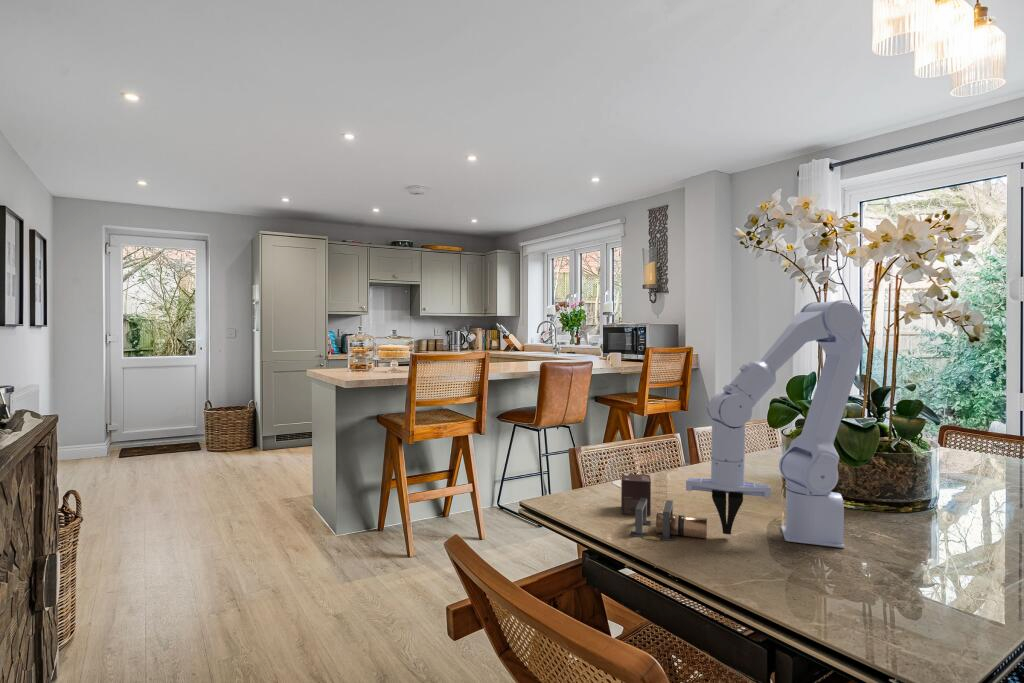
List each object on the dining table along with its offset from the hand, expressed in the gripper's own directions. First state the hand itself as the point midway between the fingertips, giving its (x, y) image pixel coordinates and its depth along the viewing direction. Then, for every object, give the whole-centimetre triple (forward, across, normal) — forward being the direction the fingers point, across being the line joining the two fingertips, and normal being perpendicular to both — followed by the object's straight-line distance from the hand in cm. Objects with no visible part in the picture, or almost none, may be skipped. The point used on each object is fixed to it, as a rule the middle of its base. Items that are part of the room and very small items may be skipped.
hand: (726, 532), depth 107 cm
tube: (+1, +8, 0) cm, 8 cm away
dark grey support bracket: (+1, +10, 0) cm, 11 cm away
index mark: (+1, +13, +5) cm, 14 cm away
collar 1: (+1, +16, 0) cm, 16 cm away
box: (+2, +18, -11) cm, 21 cm away
